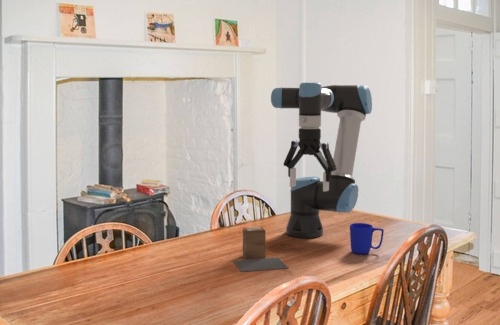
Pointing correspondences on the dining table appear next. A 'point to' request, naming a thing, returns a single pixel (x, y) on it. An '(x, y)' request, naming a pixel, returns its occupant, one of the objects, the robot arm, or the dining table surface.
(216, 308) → the dining table surface
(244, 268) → the mat
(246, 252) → the walnut block
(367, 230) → the mug
